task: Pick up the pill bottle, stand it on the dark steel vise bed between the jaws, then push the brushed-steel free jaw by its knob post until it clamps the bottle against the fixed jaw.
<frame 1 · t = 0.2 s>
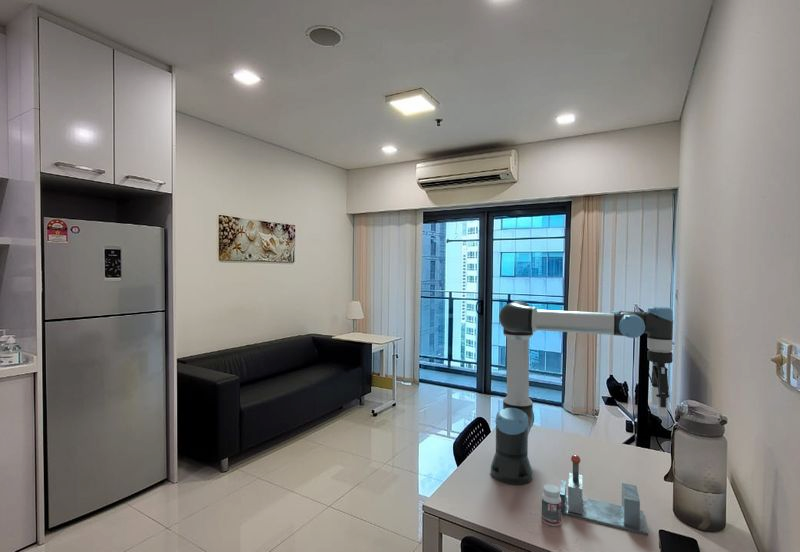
hand: (659, 410, 142), 28 cm above the table, fingers open, 13 cm apart
vise body: (601, 513, 127), on the table
pill bottle: (551, 521, 123), on the table
free jaw: (575, 479, 130), point 9 cm above the table, slide at 0.0 cm
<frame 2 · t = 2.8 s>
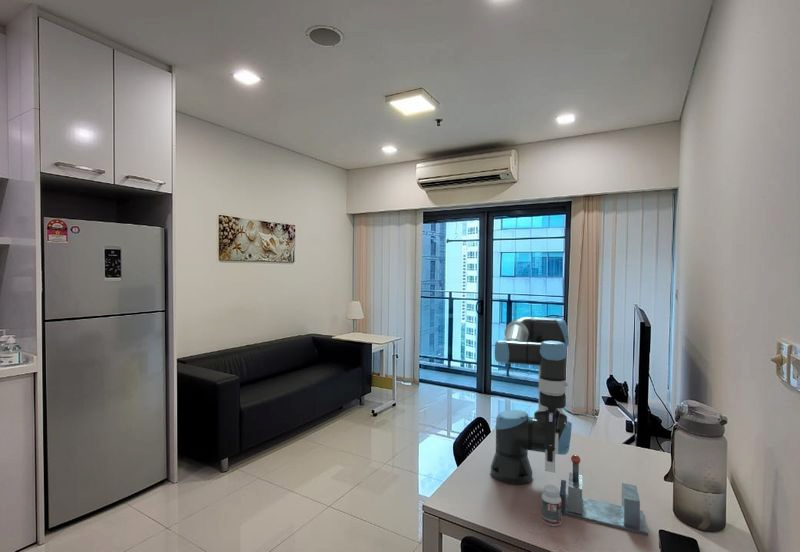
hand: (551, 461, 123), 18 cm above the table, fingers open, 13 cm apart
nothing on the table moved.
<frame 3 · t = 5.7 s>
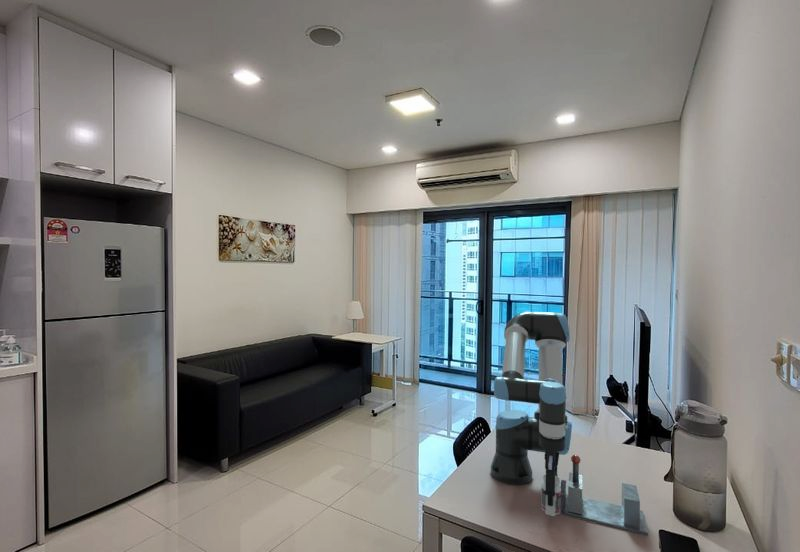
hand: (551, 508, 124), 3 cm above the table, fingers closed on pill bottle, 6 cm apart
pill bottle: (551, 510, 124), point 3 cm above the table, touching gripper
everything else where it was.
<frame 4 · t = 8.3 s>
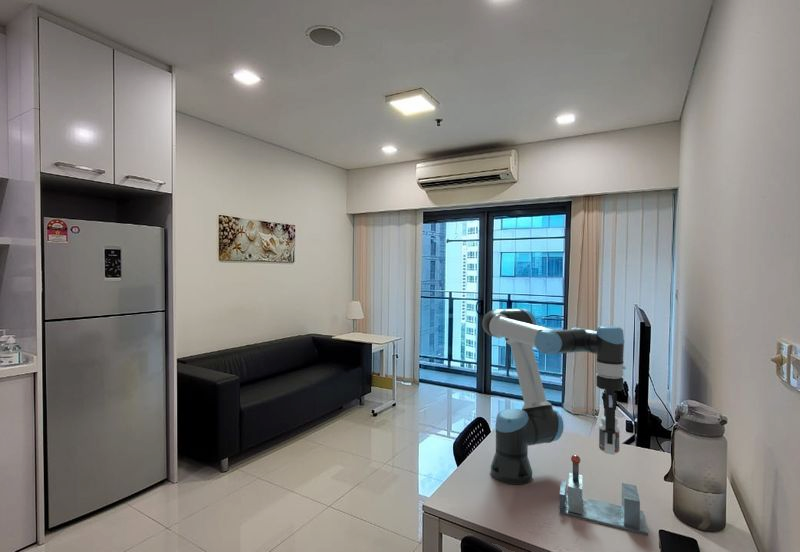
hand: (609, 449, 126), 21 cm above the table, fingers closed on pill bottle, 6 cm apart
pill bottle: (609, 450, 126), point 20 cm above the table, touching gripper
everything else where it was.
when the fingers open (2 cm above the table, at t = 11.3 s): pill bottle drops 1 cm, resting on vise body.
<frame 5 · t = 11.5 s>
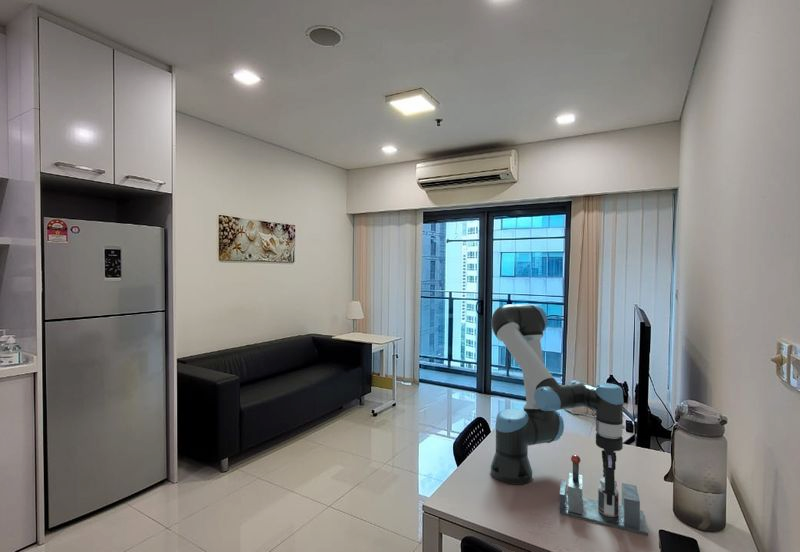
hand: (608, 506, 126), 3 cm above the table, fingers open, 8 cm apart
pill bottle: (608, 513, 126), point 1 cm above the table, touching vise body
everything else where it was.
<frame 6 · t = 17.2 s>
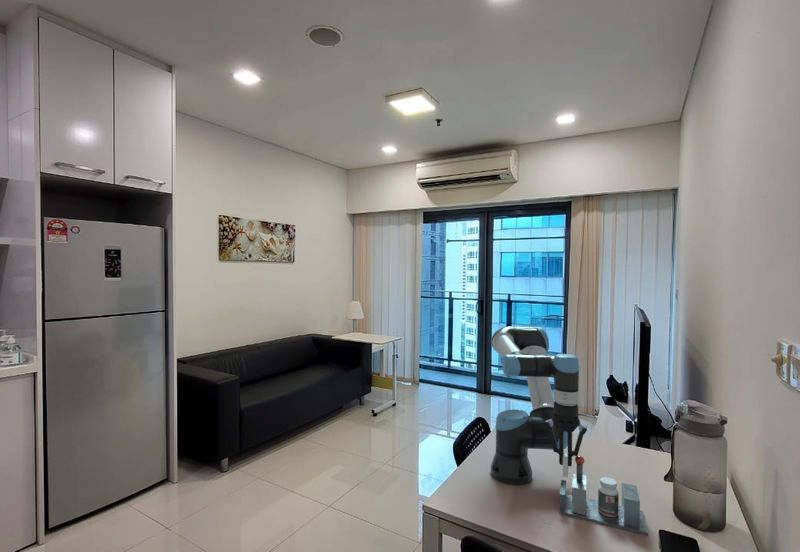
hand: (565, 474, 131), 10 cm above the table, fingers closed
free jaw: (579, 480, 130), point 9 cm above the table, slide at 1.2 cm, touching gripper
everything else where it was.
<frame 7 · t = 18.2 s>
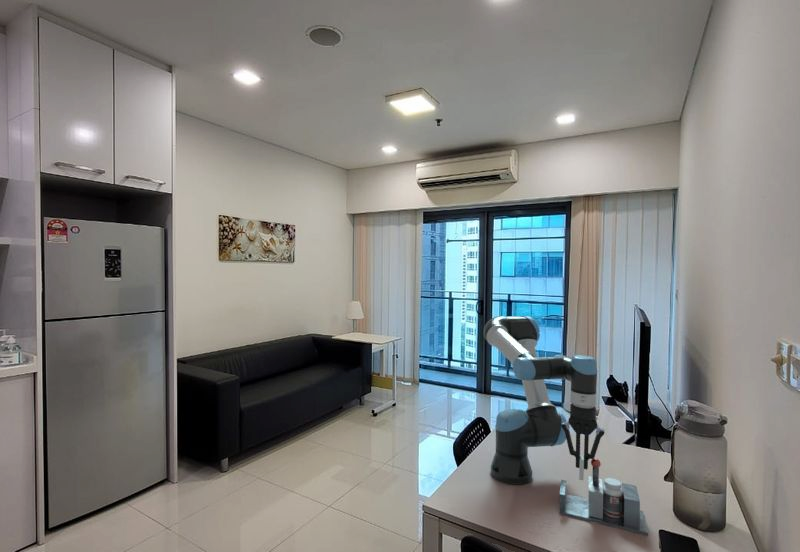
hand: (581, 478, 129), 10 cm above the table, fingers closed
pill bottle: (612, 514, 126), point 1 cm above the table, touching free jaw, vise body
free jaw: (595, 484, 128), point 9 cm above the table, slide at 5.8 cm, touching gripper, pill bottle
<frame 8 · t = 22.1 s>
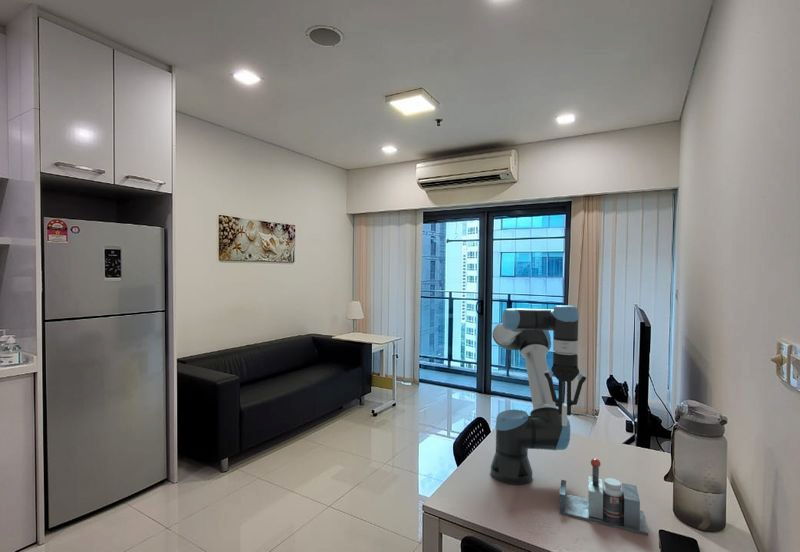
hand: (564, 424, 132), 26 cm above the table, fingers closed
pill bottle: (612, 514, 126), point 1 cm above the table, touching vise body
free jaw: (595, 484, 128), point 9 cm above the table, slide at 5.8 cm
at the end: free jaw slide at 5.8 cm; pill bottle inside the target area (0.5 cm from its centre), point 0.6 cm above the table; pill bottle tilted 0° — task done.
